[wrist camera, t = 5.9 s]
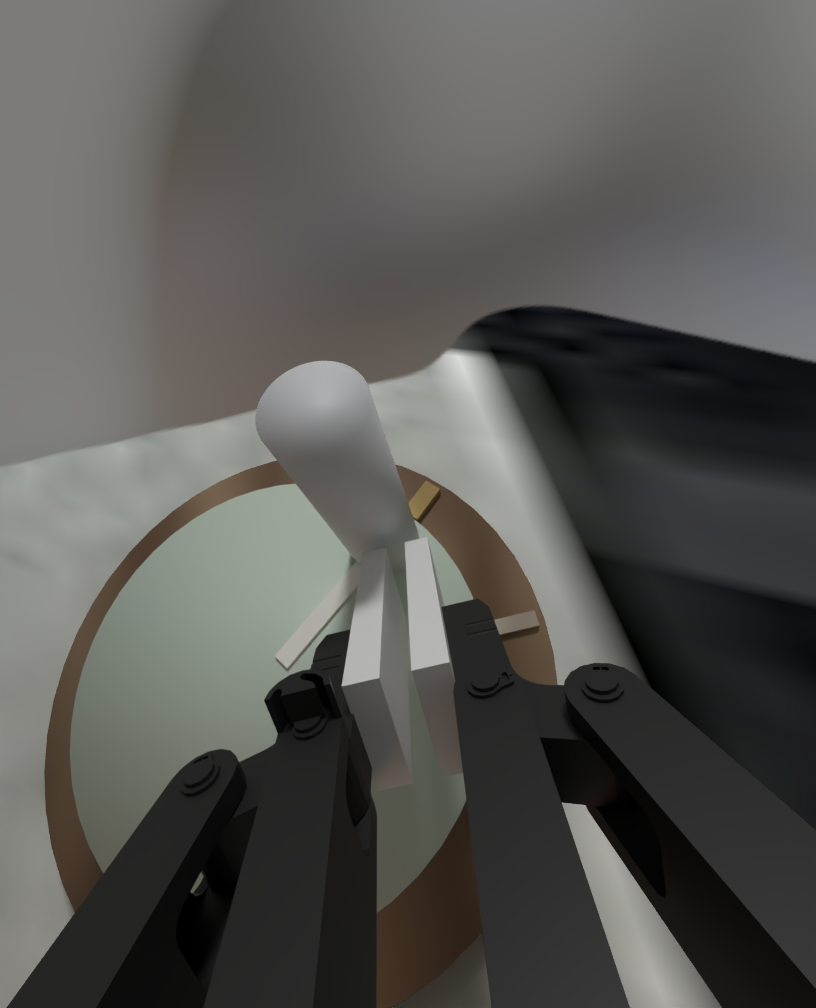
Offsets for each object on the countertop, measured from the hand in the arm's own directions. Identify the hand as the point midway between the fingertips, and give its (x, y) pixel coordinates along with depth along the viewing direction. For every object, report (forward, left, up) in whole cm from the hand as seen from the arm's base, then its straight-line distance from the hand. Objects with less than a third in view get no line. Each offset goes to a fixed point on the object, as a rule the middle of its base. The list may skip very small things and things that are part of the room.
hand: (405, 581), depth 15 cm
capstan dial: (-1, -6, -4) cm, 7 cm away
